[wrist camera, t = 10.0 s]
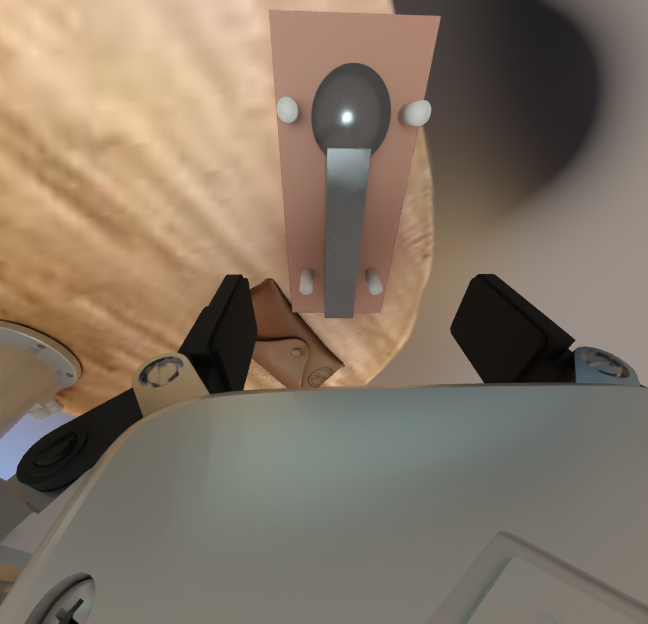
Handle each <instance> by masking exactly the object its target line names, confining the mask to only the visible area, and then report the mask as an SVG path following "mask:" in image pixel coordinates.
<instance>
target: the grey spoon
mask: <svg viewBox="0 0 648 624" xmlns="http://www.w3.org/2000/svg"><path fill="white" fill-rule="evenodd" d="M390 119H391V102H390V97H389V93H388V90H387V87H386V85H385V83H384V81H383V80H382V78H381V77H380V75H379V74H378V73H377V72H376V71H375V70H373V69H372V68H371V67H369V66H367V65H364V64H361V63H347V64H343V65H341V66H339V67H337V68H335V69H334V70H332V71H331V72H330V73H329V74H328V75H327V76H326V77H325V78H324V79H323V81H322V82H321V84H320V85H319V87H318V89H317V91H316V94H315V97H314V100H313V104H312V111H311V123H312V130H313V134H314V137H315V140H316V142H317V144H318V146H319V148H320V149H321V150H322V152H323V153H324V154H325V155H326V192H325V270H324V312H325V318H353V312H354V302H355V293H356V284H357V274H358V265H359V256H360V246H361V237H362V227H363V218H364V209H365V199H366V190H367V181H368V171H369V162H370V157H371V156H372V155H373V154H374V153H375V152H376V151H377V150H378V149H379V147H380V146H381V144H382V143H383V141H384V139H385V137H386V134H387V132H388V128H389V125H390Z"/></svg>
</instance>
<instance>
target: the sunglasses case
mask: <svg viewBox="0 0 648 624" xmlns="http://www.w3.org/2000/svg"><path fill="white" fill-rule="evenodd" d="M250 293H251V298H252V303H253V308H254V313H255V319H256V324H257V329H258V334H257V339H256V343H255V347H254V351H253V355H252V359H254V360H255V361H256V362H257V363H258V364H259V365H261V366H262V367H263V368H264V369H265V370H266V371H268V372H269V373H270V374H271V375H272V376H274V377H275V378H276V379H277V380H278V381H280V382H281V383H282V384H283V385H285V386H286V387H287V388H307V387H319V386H320V385H321V384H322V383H323V382H325V381H326V380H327V379H328V378H329V377H330V376H332V375H333V374H334V373H335V372H336V371H337V370H338V369H339V368H341V367H345V365H344V364H343V362H341V361H340V360H339V359H338V358H337V357H335V356H334V355H333V354H332V353H331V352H330V351H329V350H328V349H327V347H326V346H325V345H324V344H323V343H322V342H321V341H320V340H319V338H318V337H317V336H316V335H315V334H314V333H313V332H312V330H311V329H310V328H309V327H308V326H307V324H306V323H305V322H304V321H303V319H302V318H301V317H300V316H299V315H298V313H297V312H292V306H291V305H290V304H289V302H288V301H287V299H286V298H285V297H284V295H283V294H282V292H281V291H280V288H279V287H278V285H277V284H276V282H275V281H274V280H273V279H265V281H264V282H262V283H261V284H259V285H258V286H256V287H254V288H252V289H250Z"/></svg>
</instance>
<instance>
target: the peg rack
mask: <svg viewBox="0 0 648 624" xmlns="http://www.w3.org/2000/svg"><path fill="white" fill-rule="evenodd" d="M269 17H270V30H271V43H272V56H273V69H274V82H275V95H276V108H277V121H278V134H279V147H280V160H281V173H282V186H283V199H284V212H285V225H286V238H287V251H288V264H289V277H290V290H291V303H292V312H320V313H325V312H324V270H325V192H326V155H325V154H324V153H323V152H322V150H321V149H320V148H319V146H318V144H317V142H316V140H315V137H314V134H313V130H312V123H311V111H312V104H313V100H314V97H315V94H316V91H317V89H318V87H319V85H320V84H321V82H322V81H323V79H324V78H325V77H326V76H327V75H328V74H329V73H330V72H331V71H332V70H334V69H335V68H337V67H339V66H341V65H343V64H347V63H361V64H364V65H367V66H369V67H371V68H372V69H373V70H375V71H376V72H377V73H378V74H379V75H380V77H381V78H382V80H383V81H384V83H385V85H386V87H387V90H388V93H389V97H390V102H391V119H390V125H389V128H388V132H387V134H386V137H385V139H384V141H383V143H382V144H381V146H380V147H379V149H378V150H377V151H376V152H375V153H374V154H373V155H372V156H371V157H370V162H369V171H368V181H367V190H366V199H365V209H364V218H363V227H362V237H361V246H360V256H359V265H358V274H357V284H356V293H355V302H354V312H353V313H381V308H382V303H383V298H384V293H385V288H386V283H387V278H388V273H389V268H390V264H391V259H392V254H393V249H394V244H395V239H396V234H397V229H398V224H399V219H400V214H401V209H402V205H403V200H404V195H405V190H406V185H407V180H408V175H409V170H410V165H411V160H412V155H413V151H414V146H415V141H416V136H417V131H418V126H421V125H423V124H425V123H426V122H427V121H428V119H429V117H430V114H431V106H430V104H429V102H427V101H425V100H424V96H425V92H426V87H427V82H428V77H429V72H430V67H431V62H432V57H433V52H434V47H435V42H436V38H437V33H438V27H439V23H440V16H419V15H392V14H365V13H337V12H309V11H281V10H269Z"/></svg>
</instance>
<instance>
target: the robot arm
mask: <svg viewBox="0 0 648 624" xmlns="http://www.w3.org/2000/svg"><path fill="white" fill-rule="evenodd" d="M450 330H451V334H452V336H453V337H454V339H455V340H456V342H457V343H458V344H459V346H460V347H461V349H462V350H463V352H464V354H465V355H466V357H467V358H468V360H469V361H470V362H471V364H472V365H473V367H474V368H475V370H476V371H477V373H478V374H479V376H480V377H481V379H482V380H483V382H484V384H434V385H433V384H431V385H430V384H429V385H386V386H385V385H383V386H345V387H307V388H282V389H258V390H244V391H243V389H244V385H245V381H246V378H247V374H248V370H249V366H250V362H251V358H252V355H253V351H254V347H255V343H256V339H257V334H258V329H257V324H256V319H255V313H254V308H253V303H252V298H251V293H250V288H249V282H248V279H247V278H243V276H242V275H226V276H225V278H224V280H223V282H222V283H221V285H220V287H219V288H218V290H217V292H216V294H215V295H214V297H213V299H212V301H211V302H210V304H209V306H207V307H205V308H204V309H203V310H202V312H201V314H200V315H199V317H198V319H197V320H196V322H195V324H194V325H193V327H192V329H191V330H190V332H189V334H188V335H187V337H186V339H185V341H184V342H183V344H182V346H181V347H180V349H179V351H178V352H177V353H166V354H162V355H159V356H156V357H154V358H152V359H150V360H148V361H147V362H145V363H144V364H143V365H141V366H140V367H139V368H138V370H137V371H136V372H135V373H134V376H133V378H132V386H133V388H131V389H129V390H127V391H125V392H123V393H121V394H120V395H118V396H116V397H114V398H112V399H110V400H108V401H107V402H105V403H103V404H101V405H99V406H97V407H95V408H94V409H92V410H90V411H88V412H86V413H84V414H83V415H81V416H79V417H77V418H75V419H73V420H72V421H70V422H68V423H66V424H64V425H62V426H60V427H59V428H57V429H55V430H53V431H52V432H50V433H48V434H47V435H45V436H44V437H42V438H41V439H40V440H39V441H38V442H36V443H35V444H34V445H33V446H32V447H31V448H30V449H29V450H28V451H27V452H26V454H25V455H24V456H23V457H22V459H21V461H20V463H19V464H18V467H17V472H16V474H15V475H13V476H12V477H11V478H10V479H8V480H7V481H6V480H4V479H2V478H0V624H648V388H647V387H645V386H642V385H640V383H639V380H638V377H637V374H636V373H635V371H634V370H633V368H632V367H631V366H629V365H628V364H627V363H626V362H624V361H623V360H621V359H620V358H618V357H616V356H614V355H613V354H611V353H608V352H605V351H603V350H600V349H597V348H593V347H578V348H576V349H575V350H574V351H573V352H571V351H570V350H569V349H568V348H569V347H570V346H571V345H572V344H573V342H574V341H575V339H574V338H572V337H571V336H570V335H569V334H567V333H566V332H565V331H564V330H563V329H561V328H560V327H559V326H558V325H556V324H555V323H554V322H553V321H552V320H550V319H549V318H548V317H547V316H545V315H544V314H543V313H542V312H540V311H539V310H538V309H537V308H536V307H534V306H533V305H532V304H530V303H529V302H528V301H527V300H526V299H524V298H523V297H522V296H521V295H520V294H518V293H517V292H516V291H515V290H513V289H512V288H511V287H510V286H509V285H507V284H506V283H505V282H504V281H502V280H501V279H500V278H498V277H497V276H496V275H494V274H478V275H477V276H476V277H475V278H473V279H472V280H471V281H470V283H469V286H468V288H467V290H466V293H465V295H464V297H463V300H462V302H461V304H460V306H459V309H458V311H457V313H456V316H455V318H454V320H453V322H452V325H451V328H450ZM80 376H81V367H80V364H79V363H78V361H77V359H76V358H75V357H74V356H73V355H72V353H71V352H69V351H68V350H67V349H66V348H65V347H63V346H62V345H60V344H59V343H57V342H56V341H55V340H53V339H51V338H49V337H47V336H45V335H44V334H41V333H39V332H37V331H35V330H32V329H30V328H27V327H24V326H21V325H17V324H14V323H10V322H5V321H0V439H1V438H2V437H3V436H4V435H5V434H6V433H7V432H8V431H9V430H10V429H11V428H12V427H13V426H14V425H15V424H16V423H17V422H18V421H19V420H20V419H21V418H22V417H23V416H24V415H25V414H26V413H27V412H28V413H30V414H31V415H32V416H34V417H35V418H36V419H43V418H46V417H47V416H49V415H50V414H51V413H55V412H58V411H60V410H61V409H62V408H63V407H64V405H63V404H62V403H61V402H60V401H59V400H57V399H55V398H54V397H55V394H56V393H57V392H58V391H59V390H61V389H65V388H68V387H70V386H72V385H73V384H74V383H75V382H76V381H77V380H78V379H79V377H80Z"/></svg>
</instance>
